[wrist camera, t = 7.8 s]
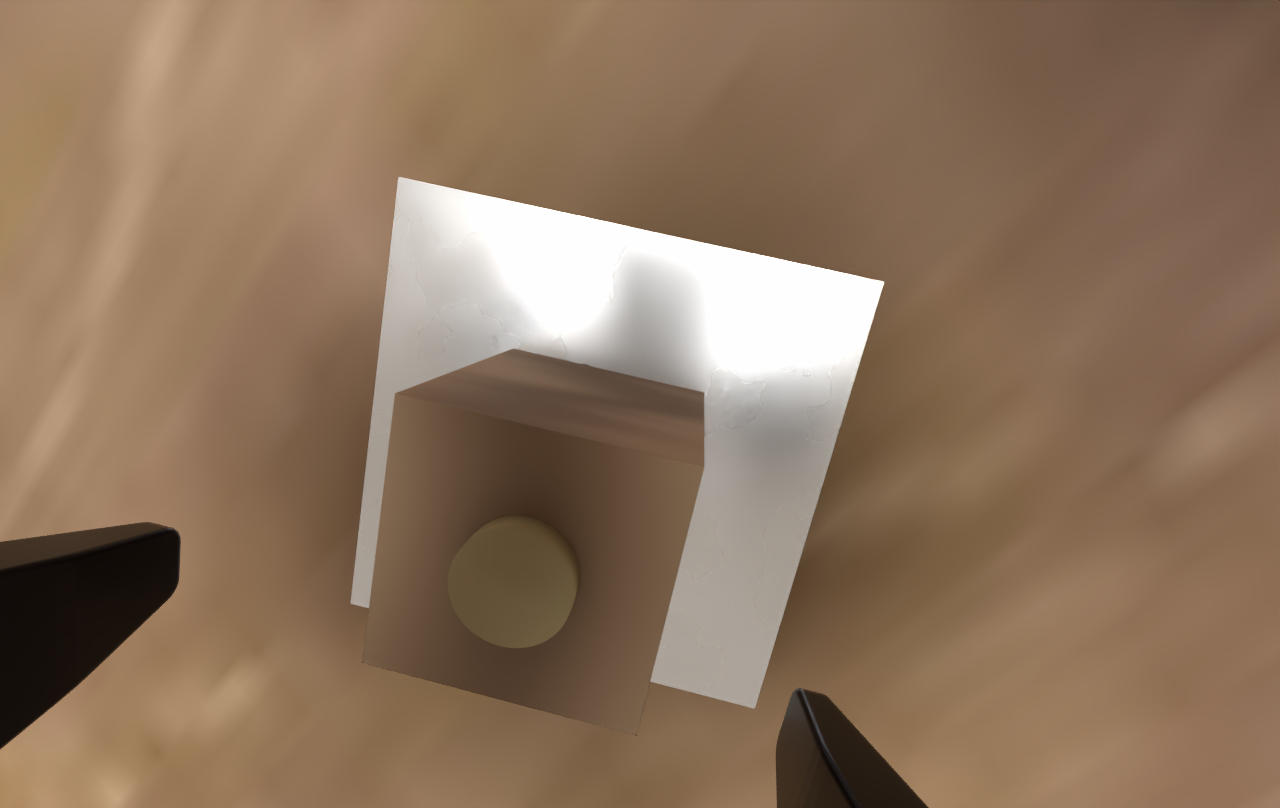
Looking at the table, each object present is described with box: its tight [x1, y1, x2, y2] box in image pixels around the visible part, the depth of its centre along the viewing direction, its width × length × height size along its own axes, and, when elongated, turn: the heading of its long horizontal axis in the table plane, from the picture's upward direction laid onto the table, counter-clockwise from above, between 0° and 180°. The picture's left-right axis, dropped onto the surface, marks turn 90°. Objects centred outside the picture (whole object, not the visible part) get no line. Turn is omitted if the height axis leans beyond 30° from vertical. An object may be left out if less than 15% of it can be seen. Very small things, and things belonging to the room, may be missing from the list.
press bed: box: [351, 177, 884, 709], centre depth 16 cm, size 12×12×2 cm
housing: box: [362, 348, 704, 736], centre depth 12 cm, size 5×5×7 cm
